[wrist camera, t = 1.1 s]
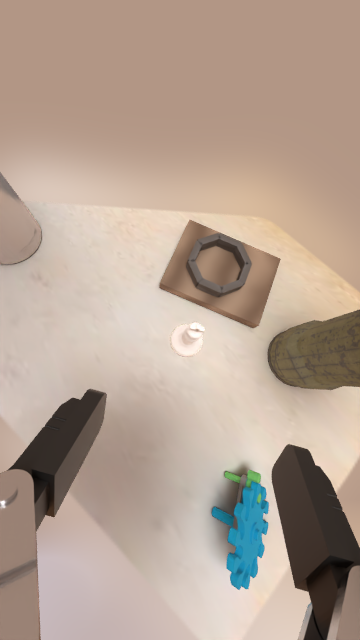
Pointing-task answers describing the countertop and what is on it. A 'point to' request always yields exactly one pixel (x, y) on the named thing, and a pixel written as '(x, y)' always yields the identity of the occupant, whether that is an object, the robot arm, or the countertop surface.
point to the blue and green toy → (245, 527)
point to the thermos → (319, 353)
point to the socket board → (221, 274)
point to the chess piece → (187, 339)
